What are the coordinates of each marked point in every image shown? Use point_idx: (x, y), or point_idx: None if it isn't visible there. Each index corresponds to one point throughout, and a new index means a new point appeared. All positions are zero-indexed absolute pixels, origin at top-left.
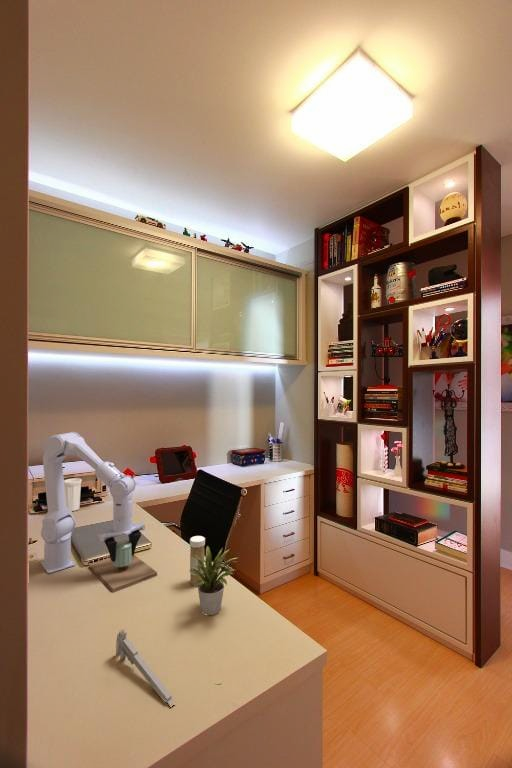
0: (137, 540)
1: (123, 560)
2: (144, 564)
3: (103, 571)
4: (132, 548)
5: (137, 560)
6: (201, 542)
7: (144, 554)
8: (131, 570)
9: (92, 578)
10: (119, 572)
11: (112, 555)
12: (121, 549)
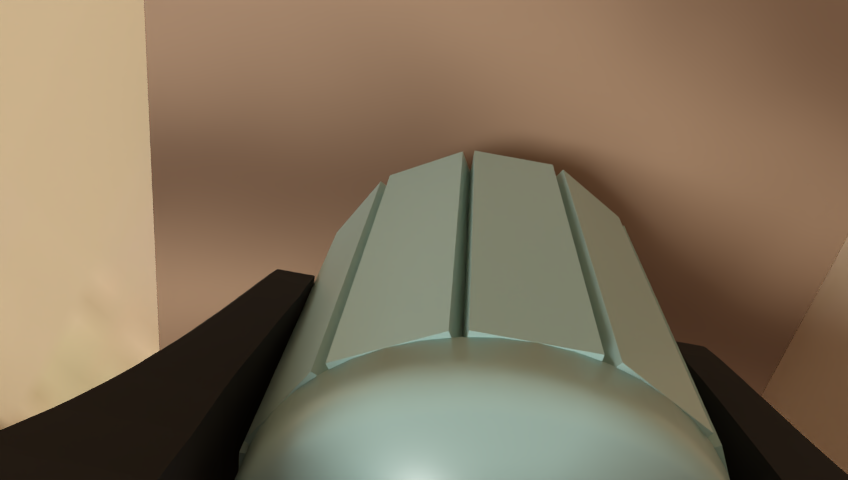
0: (12, 453)
1: (582, 220)
2: (176, 82)
3: None
4: (261, 368)
5: (200, 272)
6: None
7: (40, 366)
8: (434, 81)
9: (811, 371)
10: (586, 184)
11: (806, 442)
12: (683, 430)
